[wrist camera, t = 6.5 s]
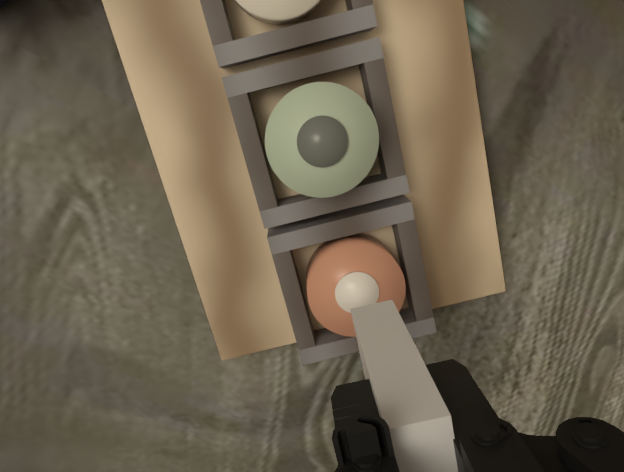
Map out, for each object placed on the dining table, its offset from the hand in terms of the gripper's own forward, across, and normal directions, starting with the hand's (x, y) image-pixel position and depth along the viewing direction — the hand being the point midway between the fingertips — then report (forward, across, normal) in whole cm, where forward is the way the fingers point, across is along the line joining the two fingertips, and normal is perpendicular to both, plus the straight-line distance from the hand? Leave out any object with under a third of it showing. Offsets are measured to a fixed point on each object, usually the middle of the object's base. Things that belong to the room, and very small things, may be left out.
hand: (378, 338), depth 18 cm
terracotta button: (+12, 0, -2) cm, 13 cm away
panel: (+14, 0, +6) cm, 16 cm away
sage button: (+11, 0, +6) cm, 13 cm away
